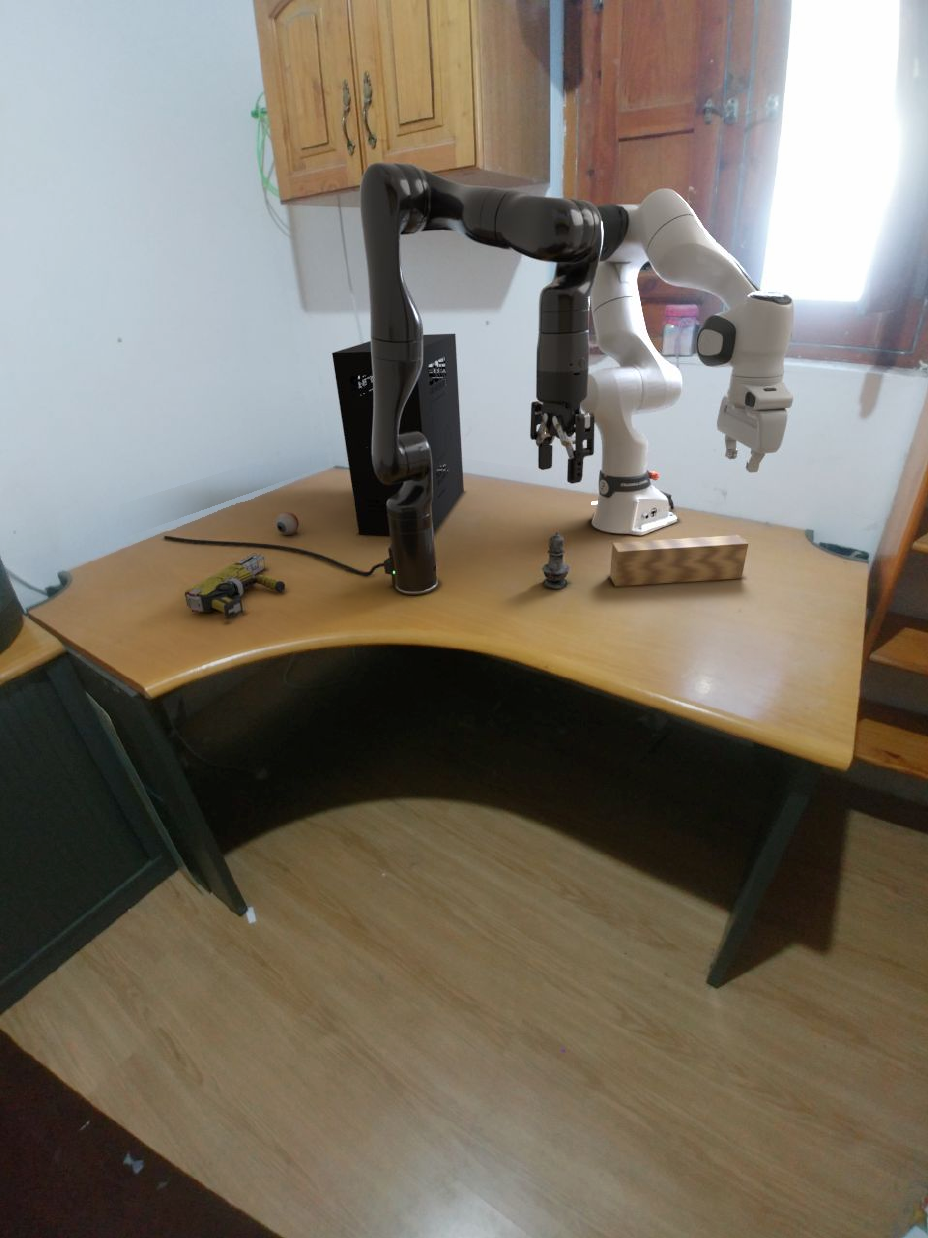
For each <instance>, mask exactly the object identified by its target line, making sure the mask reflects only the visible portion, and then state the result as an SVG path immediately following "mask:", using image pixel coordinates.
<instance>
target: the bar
mask: <svg viewBox="0 0 928 1238" xmlns="http://www.w3.org/2000/svg"><path fill="white" fill-rule="evenodd" d="M748 548H749V542H747V541H746V540H745V539H744V538H743V537H742V536H741V535H740V534H731V535H716V536H714V535H713V536H699V537H685V538H684V537H683V538H669V539H667V538H666V539H653V540H652V539H651V540H637V541H622V542H612V545H611V559H610V572H609V574H610V575H609V577H610V580H611V581H612V583H613V584H614V587H627V586H642V585H643V586H644V585H656V584H675V583H688V582H689V583H690V582H705V581H721V580H735V579H736V580H737V579H742V578H743V574H744V568H745V565H746V564H745V563H746V559H747V553H748Z"/></svg>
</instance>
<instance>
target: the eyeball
mask: <svg viewBox="0 0 928 1238" xmlns="http://www.w3.org/2000/svg"><path fill="white" fill-rule="evenodd" d="M299 525H300V522H299V519H298V517H297V516H296V515H295V514H294V513H292V512H287V511H286V512H282V513H280V514H279V515H278V516H277V517H276V520H275V527H276V529H277V530H278V531H279V532H280V533H281V534H282V535H285V536H286V535H287V536H289V535H293V534H295V533H296V532H297V531H298V529H299Z"/></svg>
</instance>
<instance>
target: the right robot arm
mask: <svg viewBox="0 0 928 1238" xmlns="http://www.w3.org/2000/svg"><path fill="white" fill-rule="evenodd" d="M596 208H597V209H598V211H599V213H600V216H601V219H602V225H603V243H602V250H601V255H600V259H599V263H598V268H597V272H596V276H595V280H594V284H593V287H592V290H591V294H590V307H591V308H590V309H591V315H592V322H593V326H594V332H595V339H596V344H597V346H598V348H599V350H600V351H601V353H602V354H604V355H606V356H608V357H609V358H612V359H614V361H615V362H616V363H617V364H618V365H619V366H615V367H606V368H603V369H599V370H596V371H593V372H591V373H588V391H587V397H586V399H584V400H583V401H582V402H581V403H580V409H581V412H582V413H583V414H587V413H588V414H589V413H593V414H594V416H595V423H594V425H595V426H596V427H597V429H598V432H599V435H600V441H601V468H600V470H599V474H598V492H599V493H598V498H597V500H595V501H591V505H592V506H593V505H596V507H595V511H594V514H593V517H592V520H591V525H592V526H593V527H594V528H595V529H597V530H599V531H601V532H605V533H611V534H623V535H625V534H626V535H632V536H633V535H634V536H645V535H646V534H650V533H652V532H654V531H657V530H660V529H662V528H665V527H668V526H670V525H672V524H675V523H677V522H678V516H677V515H676V514H675V513H674V512H672V511H673V510H674V509H675V507H674V501H673V499H672V494H669V493H666V492H665V491H662V490H660V489H658V488H656V487H655V486H654V485H652V483H651V480H653V481H658V479H659V478H660V473H659V472H657V471H654V470H651V471H649V470H648V469H647V466H648V458H649V457H648V456H649V446H650V443H649V440H648V438H647V437H646V435H645V434H644V433H643V432H641V431H639V430H638V429H636V428H634V427H633V424H632V417H633V416H634V415H639V414H641V415H642V414H648V413H656V412H660V411H662V410H665V409H667V408H670V407H672V406H674V405H675V404H676V403H677V402H678V401H679V399H680V397H681V395H682V391H683V377H682V374H681V372H680V370H679V369H678V368H677V367H676V366H675V365H673V364H672V363H670V362H668V361H667V360H666V359H664V357H663V356H662V355H661V354H660V353H659V352H658V351H657V349H656V348H655V346H654V345H653V342H652V341H651V339H650V337H649V334H648V332H647V328H646V323H645V319H644V314H643V310H642V305H641V298H640V293H639V289H638V288H639V287H638V275H639V273H640V271H641V272H644V273H648V272H649V271H651V270H652V269H653V271H654V272H655V274H656V275H657V276H658V277H659V278H660V279H661V280H662V281H663V282H664V283H666V284H668V285H670V286H673V287H677V288H678V287H680V288H685V289H692V290H697V291H701V292H705V293H709V294H711V295H713V296H715V297H717V298H718V299H719V300H720V301H721V302H722V303H723V304H724V306H725V307H726V308H727V310H724V311H721V312H718V313H715V314H712V315H710V316H708V317H707V318H706V319H705V320H704V321H703V323H702V324H701V325H700V327H699V329H698V331H697V335H696V340H695V350H696V355H697V357H698V359H699V360H700V362H701V363H702V364H703V365H704V366H706V367H709V368H710V367H711V368H727V367H731V373H730V379H729V383H728V389H727V392H726V394H724V395H723V397H722V399H721V402H720V406H719V410H718V415H717V420H716V429H717V431H719V432H720V433H722V434H724V444H725V455H724V456H725V458H726V459H728V460H735V459H736V458H737V457H738V453H739V452H738V451H739V450H738V449H737V443H740V444H741V445H743V446H745V447H747V448H749V449H750V455H751V456H750V458H749V460H747V461H746V463H745V470H746V471H747V472H748V473H750V474H751V473H758V471H759V468H760V463H761V462H762V461H763V459H764V458H765V456H766V454H773V453H777V452H778V450H779V449H780V448H781V447H782V444H783V440H784V437H785V431H786V427H787V422H788V411H787V409H789V408H791V407H792V405H793V402H794V397H793V394H792V393H791V392H790V391H789V389H788V387H787V386H786V384H785V382H784V381H783V380H784V373H785V369H784V368H785V367H784V362H785V358H786V355H787V353H788V351H789V349H790V344H791V340H792V335H793V327H794V319H795V318H794V316H795V309H794V307H795V306H794V301H793V298H792V297H791V296H789V295H788V294H786V293H783V292H780V291H770V290H762V289H760V287H759V286H758V284H756V282H755V281H754V280H753V278H752V277H751V276H750V274H749V273H748V272H747V271H746V269H745V268H744V267H743V266H742V265H741V264H740V262H739V261H738V260H737V259H736V258H735V257H734V256H733V255H731V254H730V252H728V250H726V249H724V247H722V246H721V245H720V244H719V243H718V242H716V240H715V239H714V238H713V237H712V236H711V235H710V234H709V232H708V231H707V230H706V229H705V228H704V226H703V224H702V223H701V221H700V220H699V218H698V217H697V215H696V214H695V212H694V210H693V209H692V208H691V207H690V205H689V204H688V203H687V202H686V201H685V200H684V198H683V197H682V196H681V195H680V194H678V192H676V191H675V190H673V189H672V188H666V187H664V188H658V189H656V190H654V191H652V192H650V193H649V194H648V195H647V196H646V197H645V198H644V199H643V200H642V202H641V203H629V204H628V203H626V204H625V203H624V204H623V203H621V204H615V203H604V204H600V205H597V206H596ZM670 510H672V511H670Z"/></svg>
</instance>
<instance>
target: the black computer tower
mask: <svg viewBox="0 0 928 1238" xmlns="http://www.w3.org/2000/svg"><path fill="white" fill-rule="evenodd" d="M456 336H457V335H456V333H434V334H433V333H432V334H423V365H422V369H421V372H420V375H419V377H418V380H417V382H416V384H415V386H414V388H413V390H412V392H411V394H410V396H409V398H408V400H407V402H406V404H405V406H404V408H403V411H402V415H401V419H400V426H399V433H404V432H409V431H418V432H420V433H422V434H423V435H424V436H425V438H426V439H427V441H428V443H429V446H430V450H431V456H432V474H433V499H432V503H431V510H432V522H433V533H434V534H435V532H436V531H437V529H438V528H439V527H440V526H441V524H442V522H443V521H444V520H445V518H446V517H447V516H448V515H449V513H450V511H451V510H452V509H453V507H454V506H455V504H456V503H457V501H458V500H459V499H460V497H461V496H462V495H463V493H464V492H465V489H464V488H465V486H464V471H463V470H464V469H463V468H464V467H463V452H462V448H463V447H462V433H461V431H462V430H461V414H460V413H461V411H460V392H459V376H458V375H459V374H458V357H457V354H458V353H457V337H456ZM331 356H332V362H333V370H334V375H335V376H334V377H335V383H336V389H337V396H338V404H339V410H340V416H341V423H342V429H343V436H344V444H345V451H346V458H347V464H348V470H349V476H350V477H349V478H350V483H351V489H352V491H351V492H352V496H353V504H354V511H355V517H356V524H357V532H358V535H367V536H368V535H369V536H375V535H376V536H390V531H389V523H388V514H387V501H388V499H389V498H390V497H391V496H392V495H393V494H395V493H396V492H397V491H398V490H399V489H400V488H401V486H402V485H403V483H404V482H402V483H398V484H393V485H385V484H383V483H382V482H380V481H379V479H378V478H377V476H376V473H375V471H374V467H373V462H372V429H373V401H374V400H373V371H372V357H371V340H369V341H366V342H362V343H360V344H356V345H354V346H353V345H352V346H349V347H346V348H344V349H340V350H338V351H337V350H336V351H334V352H331ZM436 362H437V365H436ZM430 365H432V366H430Z"/></svg>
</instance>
